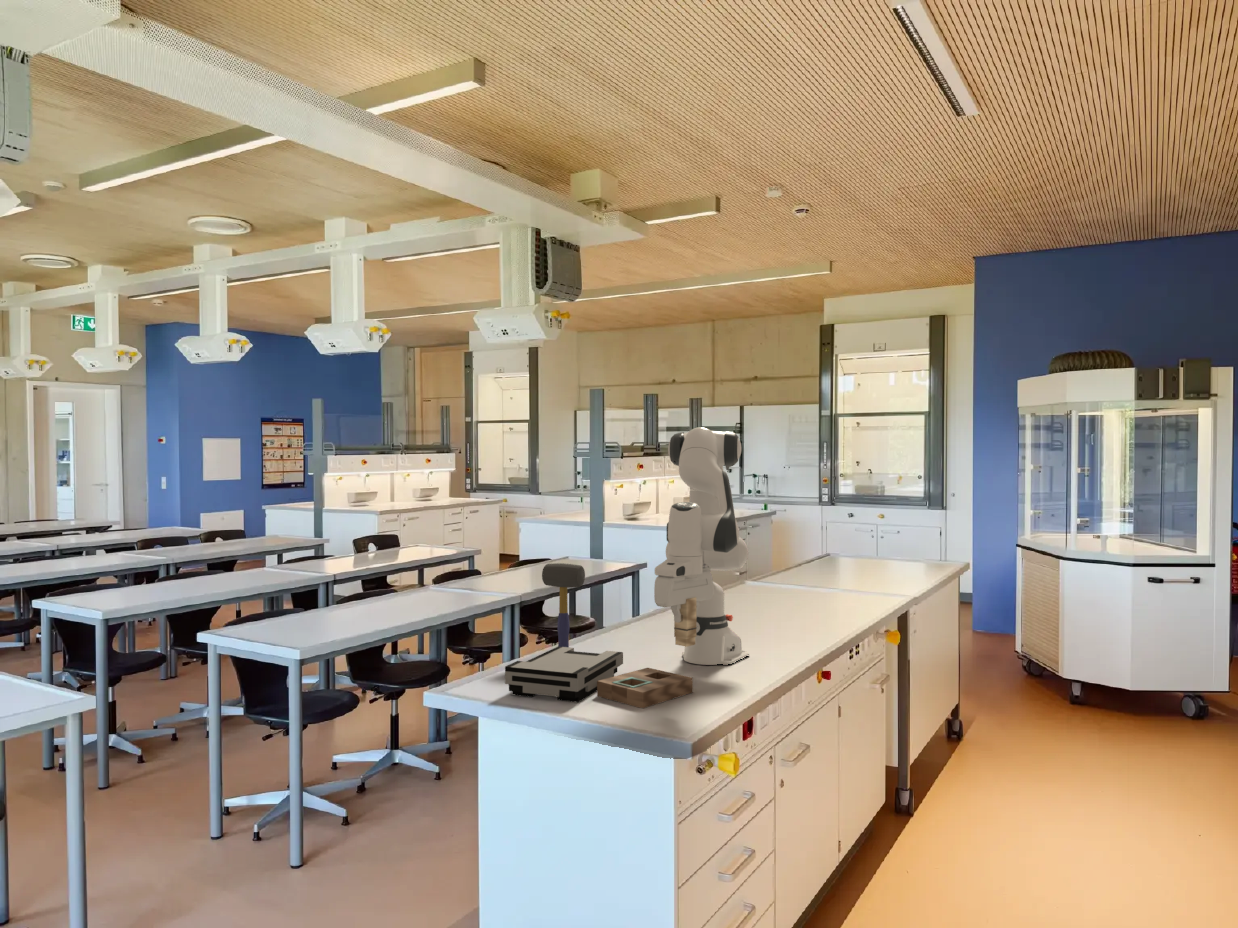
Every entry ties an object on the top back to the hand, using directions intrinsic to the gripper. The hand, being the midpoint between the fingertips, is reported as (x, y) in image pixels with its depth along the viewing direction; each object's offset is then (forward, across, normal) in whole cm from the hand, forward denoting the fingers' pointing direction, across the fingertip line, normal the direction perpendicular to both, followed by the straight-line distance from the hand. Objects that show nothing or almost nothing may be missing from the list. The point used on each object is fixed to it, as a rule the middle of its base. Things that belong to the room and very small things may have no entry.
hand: (685, 620), depth 213 cm
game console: (+22, +9, -34) cm, 41 cm away
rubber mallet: (+21, -11, -57) cm, 62 cm away
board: (+21, +1, -12) cm, 24 cm away
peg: (+6, 0, 0) cm, 6 cm away
